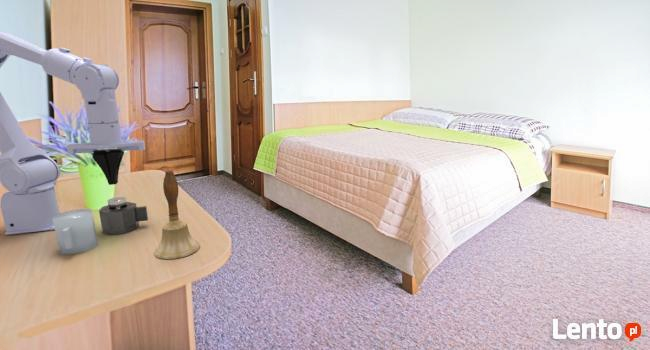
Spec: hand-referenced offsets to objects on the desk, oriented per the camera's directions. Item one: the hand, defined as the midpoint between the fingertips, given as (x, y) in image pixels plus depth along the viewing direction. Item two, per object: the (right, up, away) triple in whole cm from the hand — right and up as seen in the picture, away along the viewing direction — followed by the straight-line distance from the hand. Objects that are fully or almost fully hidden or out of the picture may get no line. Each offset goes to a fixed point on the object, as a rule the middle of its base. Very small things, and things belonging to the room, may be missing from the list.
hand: (113, 183), depth 78 cm
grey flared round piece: (+1, -10, +1) cm, 10 cm away
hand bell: (+18, -13, -9) cm, 25 cm away
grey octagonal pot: (+2, -10, +2) cm, 11 cm away
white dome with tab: (-2, -13, -8) cm, 15 cm away
